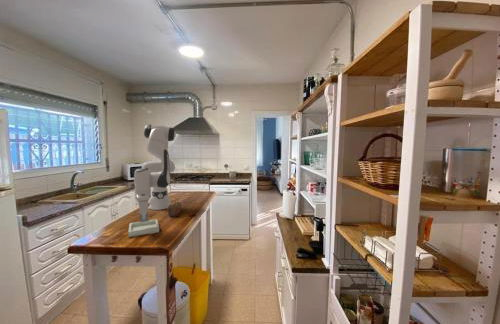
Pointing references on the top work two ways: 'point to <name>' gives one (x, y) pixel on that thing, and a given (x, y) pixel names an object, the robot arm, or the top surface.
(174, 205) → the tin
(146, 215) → the matte grey cube
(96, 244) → the top surface
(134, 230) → the dish
